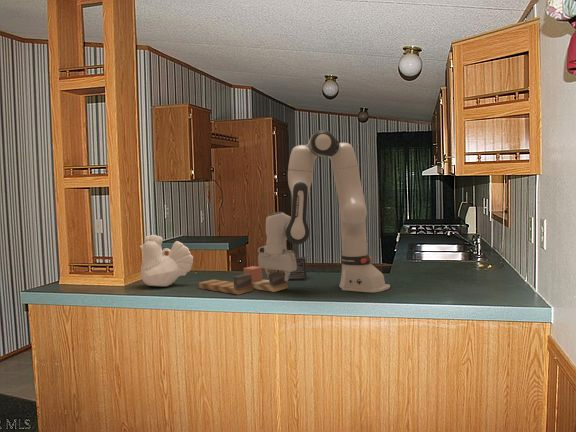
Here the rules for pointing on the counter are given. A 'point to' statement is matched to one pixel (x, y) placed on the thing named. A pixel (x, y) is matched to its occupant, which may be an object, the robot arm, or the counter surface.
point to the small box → (299, 270)
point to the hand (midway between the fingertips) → (277, 279)
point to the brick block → (254, 273)
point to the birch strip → (266, 286)
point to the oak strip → (230, 285)
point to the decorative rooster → (163, 262)
